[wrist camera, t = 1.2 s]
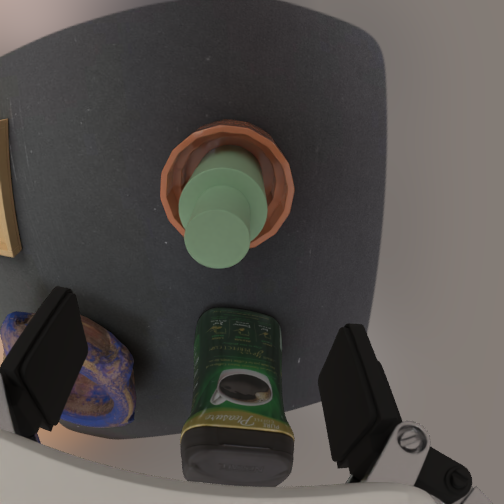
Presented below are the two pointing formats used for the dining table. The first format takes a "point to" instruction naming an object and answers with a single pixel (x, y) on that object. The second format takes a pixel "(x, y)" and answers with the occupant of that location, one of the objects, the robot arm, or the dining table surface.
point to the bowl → (91, 375)
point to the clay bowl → (238, 134)
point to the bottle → (223, 206)
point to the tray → (7, 200)
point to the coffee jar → (237, 403)
